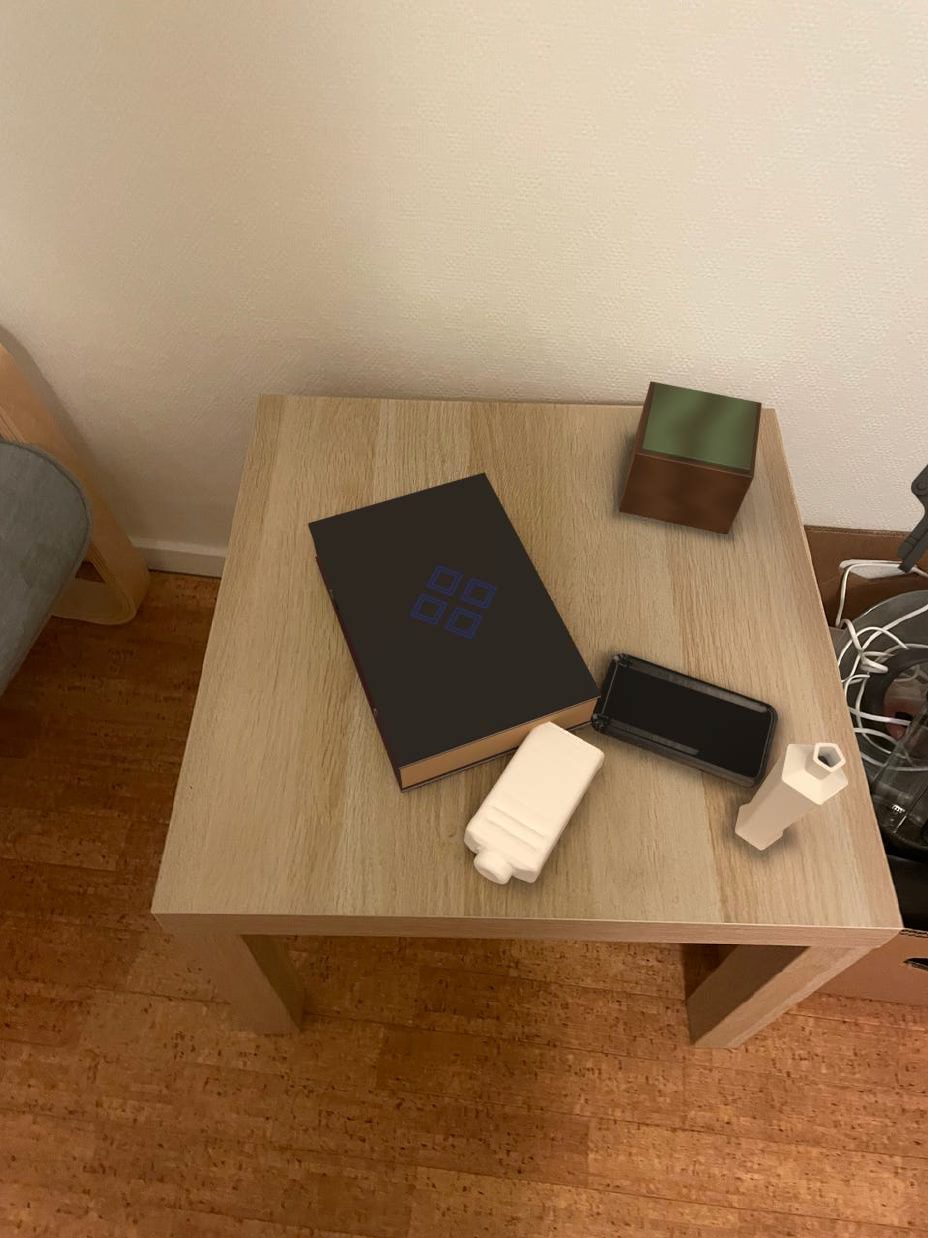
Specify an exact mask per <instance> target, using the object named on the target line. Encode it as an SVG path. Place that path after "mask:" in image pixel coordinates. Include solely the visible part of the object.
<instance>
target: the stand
mask: <svg viewBox="0 0 928 1238" xmlns="http://www.w3.org/2000/svg"><path fill="white" fill-rule="evenodd" d="M762 405H763V403H762V402H759V401H755V400H749V399H744V398H739V397H733V396H728V395H724V394H719V393H713V392H708V391H704V390H698V389H693V388H687V387H683V386H678V385H672V384H667V383H662V382H657V381H652V380H651V381H650V382H649V384H648V387H647V392H646V396H645V399H644V403H643V406H642V411H641V414H640V418H639V421H638V424H637V429H636V432H635V436H634V439H633V444H632V449H631V454H630V457H629V463H628V467H627V473H626V477H625V480H624V481H625V482H624V486H623V491H622V496H621V500H620V504H619V512H621V513H626V514H631V515H635V516H640V517H645V518H650V519H654V520H658V521H664V522H668V523H673V524H677V525H682V526H687V527H691V528H695V529H700V530H705V531H709V532H715V533H719V534H724V535H728V534H729V532H730V530H731V527H732V525H733V523H734V521H735V519H736V516H737V514H738V512H739V510H740V508H741V506H742V503H743V501H744V500H745V497H746V495H747V493H748V491H749V489H750V487H751V485H752V482H753V480H754V478H755V472H756V471H755V469H756V461H757V450H758V443H759V433H760V432H759V431H760V423H761V413H762V407H763V406H762Z"/></svg>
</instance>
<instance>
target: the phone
mask: <svg viewBox="0 0 928 1238" xmlns="http://www.w3.org/2000/svg"><path fill="white" fill-rule="evenodd" d="M600 692H601V695H602V696H601V698H598V699H597V701H596V704H595V707H594V710H593V713H592V716H591V720H592V722H591V724H590V725H591V726H592V728H593V729H594V730H595V731H597V732H598V733H601V734H603V735H606V736H607V737H611V738H614V739H617V740H618V741H621V742H625V743H626V744H630V745H631V746H635V747H636V748H637V747H638V748H640V749H643V750H645V751H648V752H651V753H654V754H657V755H659V756H661V757H665V758H667V759H670V760H672V761H675V762H678V763H681V764H684V765H686V766H688V767H691V768H694V769H696V770H699V771H702V772H705V773H707V774H710V775H713V776H715V777H718V778H721V779H723V780H726V781H728V782H731V783H734V784H735V785H739V786H742V787H745V788H754V787H756V786H758V785H759V784H760V783H761V781H762V780H763V779H764V778H765V776H766V772H767V767H768V763H769V759H770V754H771V751H772V746H773V742H774V737H775V733H776V729H777V725H778V719H779V715H778V711H777V710H776V709H775V707H773V705H771V704H770V703H768V702H764V701H762V700H759V699H756V698H753V697H751V696H747V695H744V694H742V693H739V692H736V691H733V690H730V689H728V688H725V687H722V686H719V685H716V684H713V683H711V682H708V681H705V680H702V679H699V678H696V677H693V676H691V675H688V674H685V673H682V672H680V671H677V670H674V669H670V668H668V667H666V666H662V665H659V664H658V663H654V662H651V661H649V660H647V659H643V658H640V657H637V656H634V655H632V654H629V653H625V652H621V653H618V654H615V655H614V656H613V657H612V659H611V661H610V664H609V666H608V669H607V672H606V674H605V677H604V680H603V683H602V686H601V688H600Z"/></svg>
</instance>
